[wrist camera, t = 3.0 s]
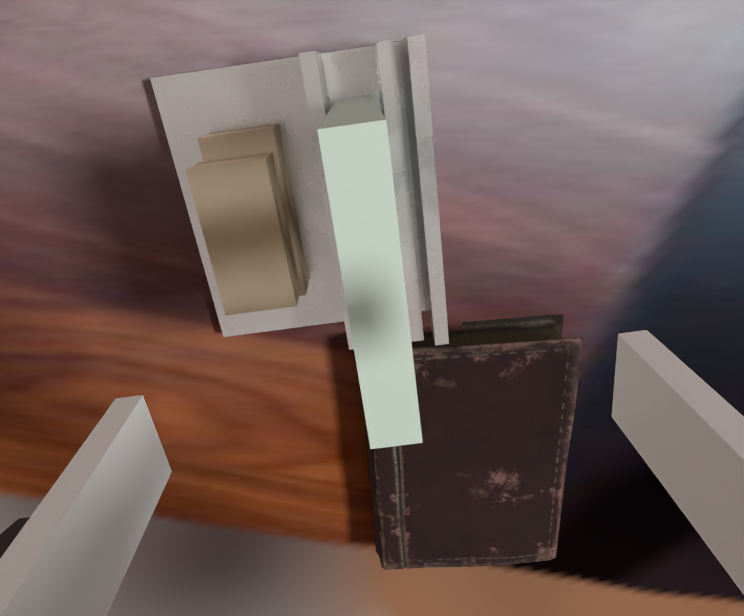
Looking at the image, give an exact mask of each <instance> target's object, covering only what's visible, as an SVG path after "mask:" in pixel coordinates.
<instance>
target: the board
mask: <svg viewBox="0 0 744 616" xmlns="http://www.w3.org/2000/svg"><path fill="white" fill-rule="evenodd" d="M317 131H318V137H319V143H320V149H321V155H322V161H323V167H324V173H325V179H326V185H327V191H328V197H329V203H330V209H331V215H332V221H333V227H334V233H335V239H336V245H337V251H338V257H339V263H340V269H341V275H342V281H343V287H344V293H345V299H346V305H347V311H348V317H349V323H350V329H351V335H352V341H353V347H354V353H355V359H356V365H357V371H358V377H359V383H360V389H361V395H362V401H363V407H364V413H365V419H366V425H367V431H368V437H369V443H370V449H376V448H385V447H393V446H401V445H409V444H417V443H423V441H422V432H421V423H420V414H419V405H418V396H417V388H416V379H415V370H414V361H413V352H412V343H411V334H410V325H409V317H408V308H407V299H406V290H405V281H404V272H403V263H402V254H401V245H400V237H399V228H398V219H397V210H396V201H395V192H394V183H393V174H392V165H391V157H390V148H389V139H388V130H387V121H386V118H385V117H384V115H383V114H382V112H381V110H380V109H379V107H378V105H377V104H376V102H375V101H374V99H373V97H372V96H371V95H366V96H359V97H352V98H345V99H338V100H336V101H335V103H334V105H333V106H332V108H331V109H330V111H329V112H328V114H327V115H326V117H325V118H324V120H323V121H322V123H321V124H320V126H319V127H318V129H317Z"/></svg>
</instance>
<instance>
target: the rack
mask: <svg viewBox="0 0 744 616" xmlns="http://www.w3.org/2000/svg"><path fill="white" fill-rule="evenodd" d="M150 80H151V83H152V87H153V90H154V94H155V97H156V101H157V104H158V108H159V111H160V115H161V118H162V122H163V125H164V129H165V133H166V136H167V140H168V143H169V147H170V150H171V154H172V157H173V161H174V164H175V168H176V171H177V175H178V178H179V182H180V185H181V189H182V192H183V196H184V199H185V203H186V206H187V210H188V214H189V217H190V221H191V224H192V228H193V231H194V235H195V238H196V242H197V245H198V249H199V252H200V256H201V259H202V263H203V266H204V270H205V273H206V277H207V280H208V284H209V288H210V291H211V295H212V298H213V302H214V305H215V309H216V312H217V316H218V319H219V323H220V326H221V330H222V333H223V337H227V336H235V335H242V334H250V333H258V332H265V331H273V330H281V329H288V328H296V327H304V326H311V325H319V324H327V323H334V322H342V321H344V322H345V328H346V334H347V340H348V345H349V350H352V349H354V347H353V341H352V335H351V329H350V323H349V317H348V311H347V305H346V299H345V293H344V287H343V281H342V275H341V269H340V263H339V257H338V251H337V245H336V239H335V233H334V227H333V221H332V215H331V209H330V203H329V197H328V191H327V185H326V179H325V173H324V167H323V161H322V155H321V149H320V143H319V137H318V131H317V129H318V127H319V126H320V124H321V123H322V121H323V120H324V118H325V117H326V115H327V114H328V112H329V111H330V109H331V108H332V106H333V105H334V103H335V101H336V100H338V99H345V98H352V97H359V96H366V95H371V96H372V97H373V99H374V101H375V102H376V104H377V105H378V107H379V109H380V110H381V112H382V114H383V115H384V117H385V118H386V121H387V130H388V139H389V148H390V157H391V165H392V174H393V183H394V192H395V201H396V210H397V219H398V228H399V237H400V245H401V254H402V263H403V272H404V281H405V290H406V299H407V308H408V317H409V325H410V334H411V342H414V341H422V340H424V335H423V325H422V315H421V311H425V312H426V315H427V319H428V322H429V326H430V329H431V332H432V336H433V339H434V343H435V345H443V344H449V337H448V324H447V311H446V299H445V286H444V273H443V260H442V247H441V234H440V222H439V209H438V196H437V183H436V170H435V158H434V145H433V132H432V119H431V106H430V93H429V81H428V68H427V55H426V42H425V34H421V35H414V36H408V37H406V38H404V39H403V40H401V41H400V42H395V43H394V39H393V40H386V41H379V42H376V43H375V45H374V46H368V47H361V48H354V49H347V50H340V51H333V52H326V53H319V52H317V51H310V52H303V53H299V57H292V58H285V59H278V60H271V61H264V62H258V63H251V64H244V65H237V66H230V67H223V68H216V69H209V70H203V71H196V72H189V73H182V74H175V75H168V76H161V77H154V78H150ZM271 124H279V128H280V133H281V139H282V144H283V149H284V154H285V159H286V164H287V169H288V174H289V179H290V185H291V190H292V195H293V200H294V205H295V210H296V215H297V220H298V226H299V231H300V236H301V241H302V246H303V251H304V256H305V261H306V266H307V272H308V277H309V284H308V288H307V293H306V295H303V296H299V299H298V303H297V306H294V307H286V308H279V309H271V310H264V311H256V312H248V313H241V314H233V315H225V311H224V308H223V304H222V301H221V297H220V293H219V290H218V286H217V283H216V279H215V275H214V272H213V268H212V264H211V261H210V257H209V254H208V250H207V246H206V243H205V239H204V236H203V232H202V228H201V225H200V221H199V217H198V214H197V210H196V207H195V203H194V199H193V196H192V192H191V189H190V185H189V181H188V178H187V174H186V170H187V169H188V168H190V167H192V166H193V165H195V164H197V163H199V162H203V159H202V155H201V151H200V147H199V144H198V140H197V138H199V137H202V136H204V135H206V134H209V133H215V132H222V131H229V130H236V129H243V128H250V127H257V126H264V125H271Z"/></svg>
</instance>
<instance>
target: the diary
mask: <svg viewBox="0 0 744 616" xmlns="http://www.w3.org/2000/svg"><path fill="white" fill-rule="evenodd" d="M563 317H564V314H558V315H546V316H534V317H522V318H510V319H497V320H485V321H473V322H462V332H450V333H448V337H449V344H443V345H435V343H434V339H433V336H432V334H423V335H424V340H422V341H414V342H411V343H412V352H413V361H414V370H415V379H416V388H417V396H418V405H419V414H420V423H421V432H422V441H423V443H417V444H409V445H401V446H393V447H385V448H376V449H370V443H369V437H368V431H367V425H366V438H367V453H368V466H369V475H370V483H371V492H372V500H373V509H374V525H375V543H376V552H377V553H378V555H379V557H380V561H381V565H382V568H384V569H385V570H387V569H388V570H389V569H403V568H404V567H406V568H423V567H475V566H492V565H509V564H518V563H528V562H537V561H546V560H550V559H554V558H556V551H557V543H558V535H559V527H560V518H561V510H562V501H563V492H564V484H565V475H566V466H567V458H568V452H569V445H570V438H571V431H572V425H573V418H574V412H575V404H576V395H577V386H578V377H579V368H580V359H581V350H582V341H583V337H579V338H565V339H562V338H561V335H562V327H563ZM365 423H366V419H365Z"/></svg>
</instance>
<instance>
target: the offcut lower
mask: <svg viewBox="0 0 744 616" xmlns="http://www.w3.org/2000/svg"><path fill="white" fill-rule="evenodd" d="M197 140H198V144H199V147H200V151H201V155H202V159H203V162H205V161H212V160H219V159H226V158H233V157H240V156H247V155H254V154H262V153H269V152H273V156H274V161H275V166H276V171H277V176H278V181H279V186H280V190H281V195H282V200H283V205H284V210H285V215H286V220H287V225H288V230H289V234H290V239H291V244H292V249H293V254H294V259H295V264H296V269H297V274H298V278H299V283H300V288H301V291H300V295H299V296H303V295H306V293H307V288H308V284H309V277H308V272H307V266H306V261H305V256H304V251H303V246H302V241H301V236H300V231H299V226H298V220H297V215H296V210H295V205H294V200H293V195H292V190H291V185H290V179H289V174H288V169H287V164H286V159H285V154H284V149H283V144H282V139H281V133H280V128H279V124H271V125H264V126H257V127H250V128H243V129H236V130H229V131H222V132H215V133H209V134H206V135H204V136H202V137H199V138H197Z"/></svg>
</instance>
